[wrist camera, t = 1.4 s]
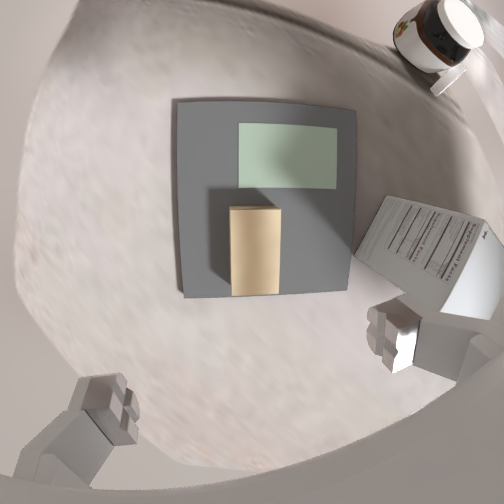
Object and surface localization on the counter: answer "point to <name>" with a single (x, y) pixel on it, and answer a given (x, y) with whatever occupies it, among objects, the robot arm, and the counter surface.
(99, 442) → the robot arm
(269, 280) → the maple card box
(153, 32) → the counter surface
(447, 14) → the spread jar
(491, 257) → the supplement box
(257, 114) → the rubber mat
